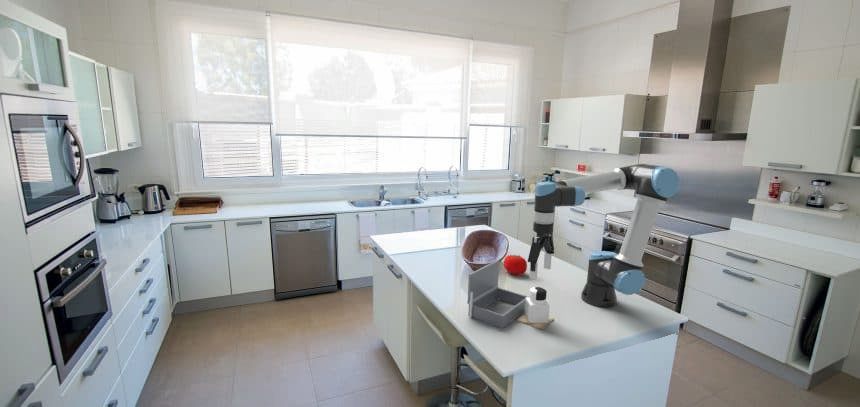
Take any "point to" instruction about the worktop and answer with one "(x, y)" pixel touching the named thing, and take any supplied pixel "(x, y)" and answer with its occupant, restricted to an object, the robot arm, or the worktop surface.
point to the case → (491, 296)
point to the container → (537, 306)
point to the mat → (537, 325)
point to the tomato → (515, 264)
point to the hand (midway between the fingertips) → (540, 273)
